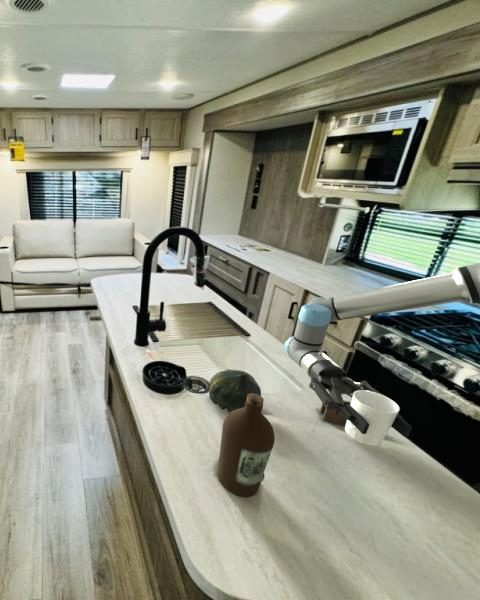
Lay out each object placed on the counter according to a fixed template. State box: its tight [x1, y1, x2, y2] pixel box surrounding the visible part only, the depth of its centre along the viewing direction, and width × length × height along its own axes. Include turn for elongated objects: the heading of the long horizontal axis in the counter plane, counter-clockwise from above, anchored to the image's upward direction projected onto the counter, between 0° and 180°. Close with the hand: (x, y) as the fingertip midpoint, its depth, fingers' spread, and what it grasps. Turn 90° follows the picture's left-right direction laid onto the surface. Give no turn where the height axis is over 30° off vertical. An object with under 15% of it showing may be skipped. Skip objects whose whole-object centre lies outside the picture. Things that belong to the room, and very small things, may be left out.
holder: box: [319, 399, 351, 426], centre depth 93 cm, size 10×5×7 cm, turn 68°
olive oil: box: [216, 393, 276, 498], centre depth 73 cm, size 11×11×25 cm
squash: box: [208, 369, 262, 413], centre depth 100 cm, size 14×15×15 cm
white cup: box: [344, 390, 401, 446], centre depth 73 cm, size 8×8×10 cm
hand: (386, 430), depth 68 cm, fingers closed on white cup, 8 cm apart
